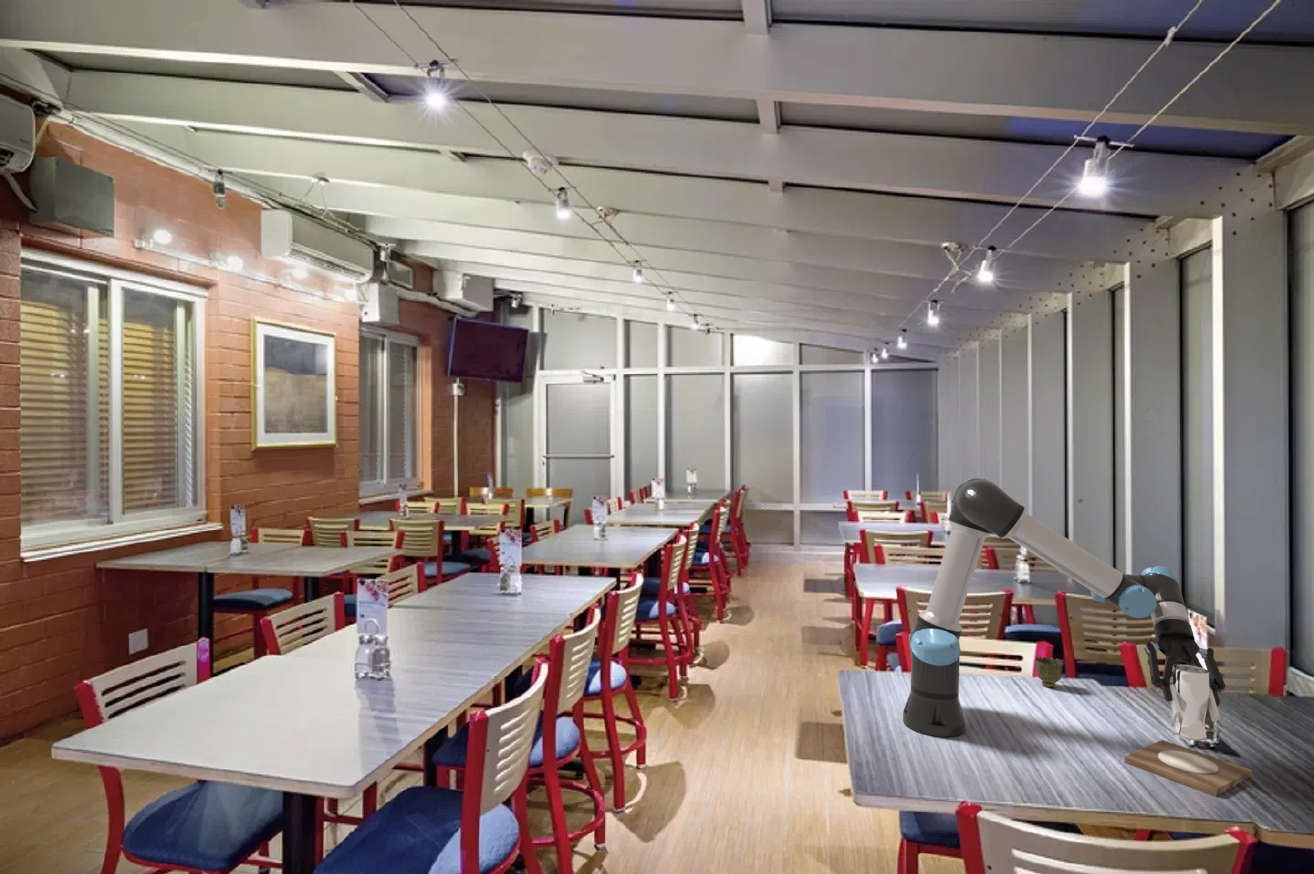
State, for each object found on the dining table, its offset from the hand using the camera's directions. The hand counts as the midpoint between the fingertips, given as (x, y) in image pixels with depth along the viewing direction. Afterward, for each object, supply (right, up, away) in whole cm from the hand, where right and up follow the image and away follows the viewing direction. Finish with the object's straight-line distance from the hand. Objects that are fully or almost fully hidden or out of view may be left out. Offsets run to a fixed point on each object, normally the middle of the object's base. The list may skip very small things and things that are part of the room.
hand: (1196, 716), depth 162 cm
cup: (-2, -13, +57) cm, 59 cm away
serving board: (+1, -13, +4) cm, 14 cm away
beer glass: (+1, -6, +3) cm, 7 cm away
